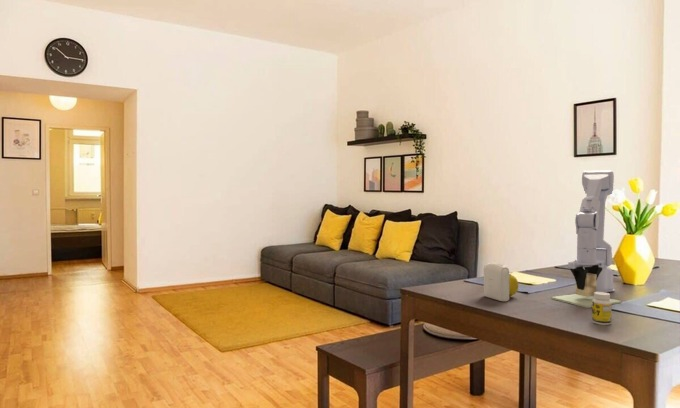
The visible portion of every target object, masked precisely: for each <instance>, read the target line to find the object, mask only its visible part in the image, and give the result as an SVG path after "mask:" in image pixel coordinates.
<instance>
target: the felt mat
mask: <svg viewBox="0 0 680 408" xmlns="http://www.w3.org/2000/svg"><path fill="white" fill-rule="evenodd" d="M593 299H595V298H594V296H588V297H586V296H582V295H578V294H576V293H573V294H564V295H558V296H557V295H555V296H551V300H555V301H559V302H563V303H567V304H571V305H574V306H578V307H582V308H586V309H588V308H589V309H590V308H592V301H593ZM609 300H610V301H611V305H616V304H622V301H621V300H618V299H614V298H610V299H609Z"/></svg>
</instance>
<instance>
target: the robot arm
mask: <svg viewBox="0 0 680 408" xmlns="http://www.w3.org/2000/svg"><path fill="white" fill-rule="evenodd" d="M614 175H615V174H614V172H613V170H611V169H610V170H584V171H583V172H582V175H581V184H582V187H583V191H584V193H585V195H586V197H584V198H583V199H582V200H581V204H580V209H579V212H578V213H576V214H575V219H574V220H575V233H576V235H577V236H576V237H577V238H576V240H577V241H576V244H577V245H576V259H574V261H570V262H569V261H568V263H567V264H568V267H567V268H568V269H569V270H570V272H571V273H572V275H573V277H574V281H575V285H576V284H577V288H578V289H581V290H584V287H585V279H586V275H587V273H591V274H597V277H596V292H605V293H609V292H610V293H611V292H616V289H615V288H614V271H613V270H612V268H611V265H612V262H613V253H612V251H613V250H612V249H613V247H612V245H611V244H610V243H609V242H607V241H606V240H605V239H604V238H605V235H604V234H605V219H606V218H605V216H606V201H607V198H608V196H610V195H612V194H613V191H614V181H615V180H614V177H615V176H614Z"/></svg>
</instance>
